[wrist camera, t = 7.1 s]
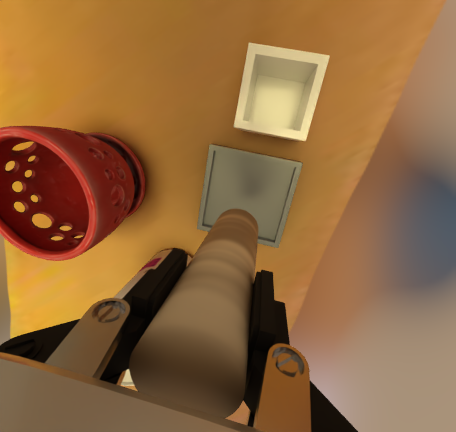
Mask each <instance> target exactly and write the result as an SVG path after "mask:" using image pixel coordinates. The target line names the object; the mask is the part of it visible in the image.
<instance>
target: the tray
mask: <svg viewBox="0 0 456 432" xmlns="http://www.w3.org/2000/svg"><path fill="white" fill-rule="evenodd" d="M302 164H303V163H302V162H299V161H294V160H289V159H284V158H279V157H274V156H269V155H264V154H259V153H254V152H249V151H244V150H239V149H234V148H229V147H224V146H219V145H215V144H210V146H209V152H208V159H207V165H206V172H205V179H204V185H203V192H202V198H201V205H200V211H199V218H198V225H197V229H199V230H204V231H208V232H210V230H211V228H212V227H213V225H214V224H215V222H216V221H217V219H218V218H219V216H220V215H221V214H222V213H223V212H225V211H227V210H229V209H242V210H245V211H247V212H249V213H250V214H251V215H252V216H253V217H254V218H255V220H256V221H257V224H258V241H257V243H259V244H263V245H267V246H272V247H276V248H278V247H279V244H280V240H281V237H282V233H283V230H284V227H285V223H286V220H287V216H288V213H289V209H290V206H291V202H292V199H293V195H294V192H295V188H296V185H297V181H298V178H299V175H300V171H301V168H302Z"/></svg>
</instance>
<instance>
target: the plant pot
mask: <svg viewBox="0 0 456 432" xmlns="http://www.w3.org/2000/svg"><path fill="white" fill-rule="evenodd" d="M29 141H33V142H34V143H33V144H32V145H31V146H30V147H28V148H26V149H24V150H20V151H15V150H12V148H13V147H14V146H16V145H18V144H20V143H24V142H29ZM31 156H36V157H35V159H34V160H33V161H31V162H28V159H29V157H31ZM9 161H14V162H15V166H14V168H13V169H12V170H10V171H6V170H5V167H6V164H7V163H8V162H9ZM27 170H31V171H32V175H31V176H30V177H25V172H26V171H27ZM16 181H20V182H21V183H22V185H23V189H22V191H21V192H15V191H14V190H13V189H12V184H13V183H14V182H16ZM144 194H145V177H144V172H143V169H142V166H141V164H140V162H139V160H138V159H137V157H136V156H135V154H134V153H133V152H132V151H131V150H130V149H129V148H128V147H127V146H126V145H125V144H124V143H123V142H121V141H120V140H118V139H117V138H115V137H112V136H110V135H107V134H103V133H87V134H84V133H80V132H76V131H72V130H67V129H61V128H52V127H41V126H9V127H3V128H0V234H1V235H2V236H3V237H4V238H5V239H6V240H8V241H9V242H10V243H11V244H13V245H14V246H15V247H17V248H19V249H20V250H22V251H23V252H25V253H27V254H30V255H32V256H35V257H38V258H42V259H46V260H53V261H61V260H68V259H72V258H75V257H77V256H79V255H81V254H82V253H84V252H86V251H87V250H89V249H91V248H92V247H94V246H95V245H96V244H98V243H99V242H101V241H102V240H103V239H104V238H106V237H107V236H108V235H109V234H111V233H112V232H113V231H114V230H115V229H116V228H117V227H118V226H119V225H120V224H121V222H122V221H123V220H124V218H126V217H128V216H130V215H131V214H133V213H134V212H135V211H136V210H137V209H138V207H139V206H140V204H141V203H142V200H143V198H144ZM31 195H36V196H37V197H38V202H33V201H32V200H31ZM15 202H21V203H22V204H23V205H24V206H25V211H24V212H18V211H17V210H16V209H15V208H14V203H15ZM38 213H40V214H44V215H46V216H48V217H49V218H50V219H51V221H52V225H51V226H50V227H49V228H39V227H37V226H35V225H34V224H33V222H32V216H33V215H34V214H38ZM61 226H70V227H71V228H72V229H71V230H68V231H63V230H60V229H59V228H60V227H61ZM79 235H83V237H81V238H74V237H76V236H79ZM54 236H60V237H63V238H64V239H62V240H58V241H55V240H51V239H50V238H52V237H54Z"/></svg>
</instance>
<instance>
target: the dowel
mask: <svg viewBox="0 0 456 432" xmlns="http://www.w3.org/2000/svg"><path fill="white" fill-rule="evenodd" d="M257 241H258V224H257V221H256V220H255V218H254V217H253V216H252V215H251V214H250V213H249V212H247V211H245V210H242V209H229V210H227V211H225V212H223V213H222V214H221V215H220V216H219V218H218V219H217V221H216V222H215V224H214V225H213V227H212V228H211V230H210V232H209V233H208V235H207V236H206V238H205V239H204V241H203V242H202V244H201V245H200V247H199V249H198V250H197V252H196V253H195V255H194V256H193V258H192V259H191V261H190V263H189V264H188V266H187V267H186V269H185V270H184V272H183V273H182V275H181V277H180V278H179V280H178V281H177V283H176V284H175V286H174V287H173V289H172V291H171V292H170V294H169V295H168V297H167V298H166V300H165V301H164V303H163V304H162V306H161V308H160V309H159V311H158V312H157V314H156V315H155V317H154V318H153V320H152V322H151V323H150V325H149V326H148V328H147V329H146V331H145V332H144V334H143V336H142V337H141V339H140V340H139V342H138V343H137V345H136V346H135V348H134V350H133V351H132V354H131V356H130V361H129V371H130V376H131V379H132V381H133V383H134V385H135V387H136V389H137V390H138V392H141V393H144V394H148V395H151V396H154V397H157V398H161V399H164V400H167V401H170V402H173V403H177V404H180V405H183V406H186V407H190V408H193V409H196V410H199V411H202V412H206V413H209V414H212V415H215V416H218V417H221V418H226V417H228V416H230V415H231V414H233V413H234V412H235V411H236V410H237V409H238V408H239V406H240V405H241V403H242V401H243V399H244V394H245V385H246V373H247V361H248V340H249V329H250V318H251V306H252V295H253V284H254V277H255V265H256V253H257Z"/></svg>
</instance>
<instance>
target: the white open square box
mask: <svg viewBox="0 0 456 432" xmlns="http://www.w3.org/2000/svg"><path fill="white" fill-rule="evenodd" d="M329 57H330V55H323V54H317V53H311V52H305V51H298V50H292V49H286V48H280V47H273V46H267V45H261V44H255V43H249V45H248V51H247V56H246V62H245V67H244V73H243V78H242V84H241V90H240V95H239V101H238V106H237V112H236V117H235V123H234V127H235V128H237V129H239V130H241V131H247V132H252V133H257V134H262V135H267V136H272V137H277V138H283V139H288V140H293V141H306V138H307V135H308V131H309V128H310V124H311V121H312V117H313V114H314V110H315V107H316V103H317V99H318V96H319V92H320V89H321V85H322V82H323V78H324V75H325V71H326V68H327V64H328V61H329Z"/></svg>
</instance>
